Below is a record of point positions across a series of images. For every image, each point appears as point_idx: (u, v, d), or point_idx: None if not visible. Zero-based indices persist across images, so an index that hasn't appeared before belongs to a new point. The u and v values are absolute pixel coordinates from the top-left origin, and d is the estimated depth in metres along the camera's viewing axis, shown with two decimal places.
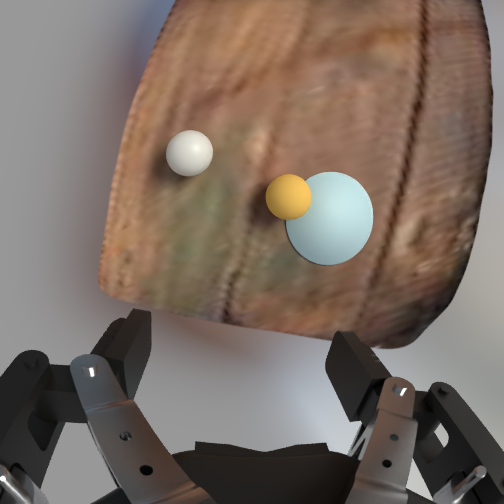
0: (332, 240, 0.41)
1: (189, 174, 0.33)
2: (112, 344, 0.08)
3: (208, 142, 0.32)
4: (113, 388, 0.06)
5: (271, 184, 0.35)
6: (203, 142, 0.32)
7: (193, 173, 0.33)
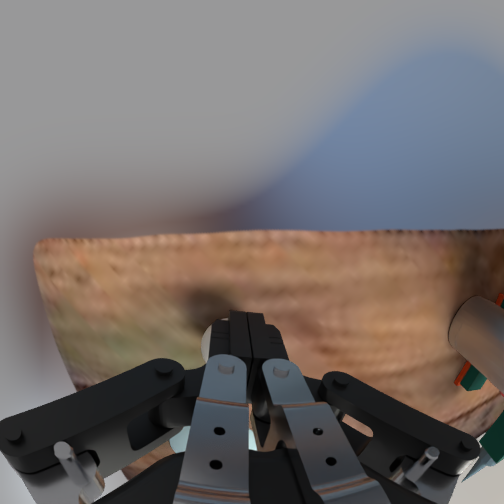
0: None
1: None
2: (232, 344, 0.09)
3: None
4: (238, 390, 0.07)
5: None
6: None
7: None
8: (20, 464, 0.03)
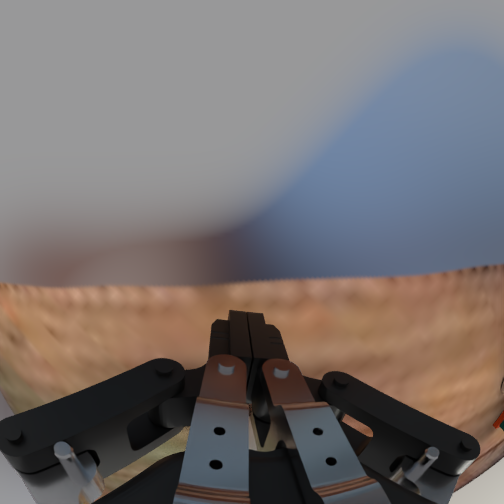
0: None
1: None
2: (232, 344, 0.09)
3: None
4: (238, 390, 0.07)
5: None
6: None
7: None
8: (20, 464, 0.03)
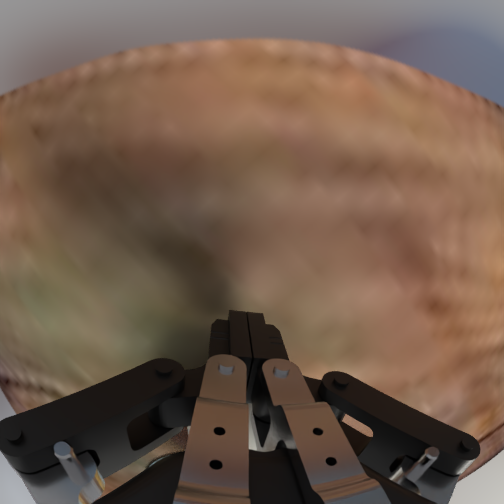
0: None
1: None
2: (232, 344, 0.09)
3: None
4: (238, 390, 0.07)
5: None
6: None
7: None
8: (20, 464, 0.03)
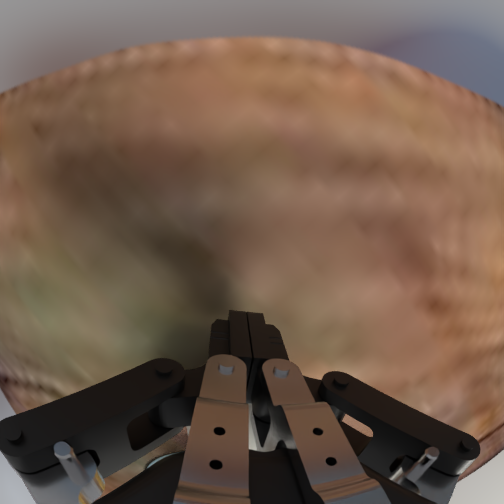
0: None
1: None
2: (232, 344, 0.09)
3: None
4: (238, 390, 0.07)
5: None
6: None
7: None
8: (20, 464, 0.03)
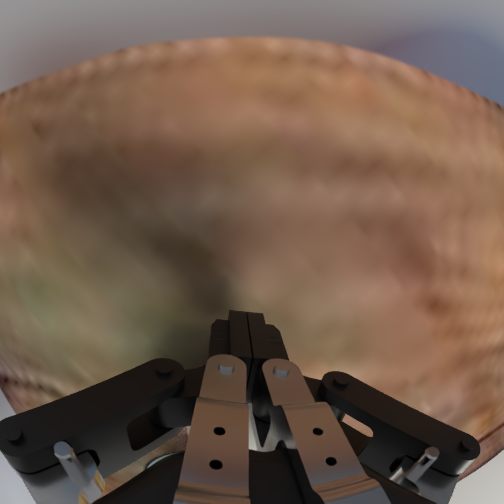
0: None
1: None
2: (232, 344, 0.09)
3: None
4: (238, 390, 0.07)
5: None
6: None
7: None
8: (20, 464, 0.03)
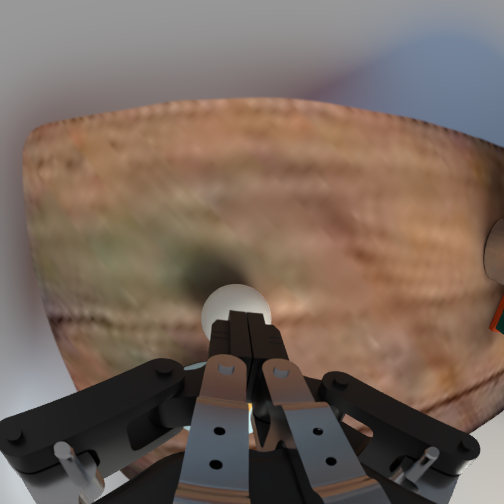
0: None
1: None
2: (232, 344, 0.09)
3: None
4: (238, 390, 0.07)
5: None
6: None
7: None
8: (20, 464, 0.03)
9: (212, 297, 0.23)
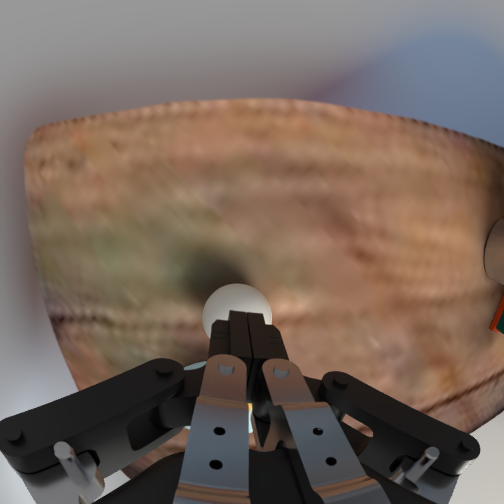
0: None
1: None
2: (232, 344, 0.09)
3: None
4: (238, 390, 0.07)
5: None
6: None
7: None
8: (20, 464, 0.03)
9: (213, 296, 0.23)
